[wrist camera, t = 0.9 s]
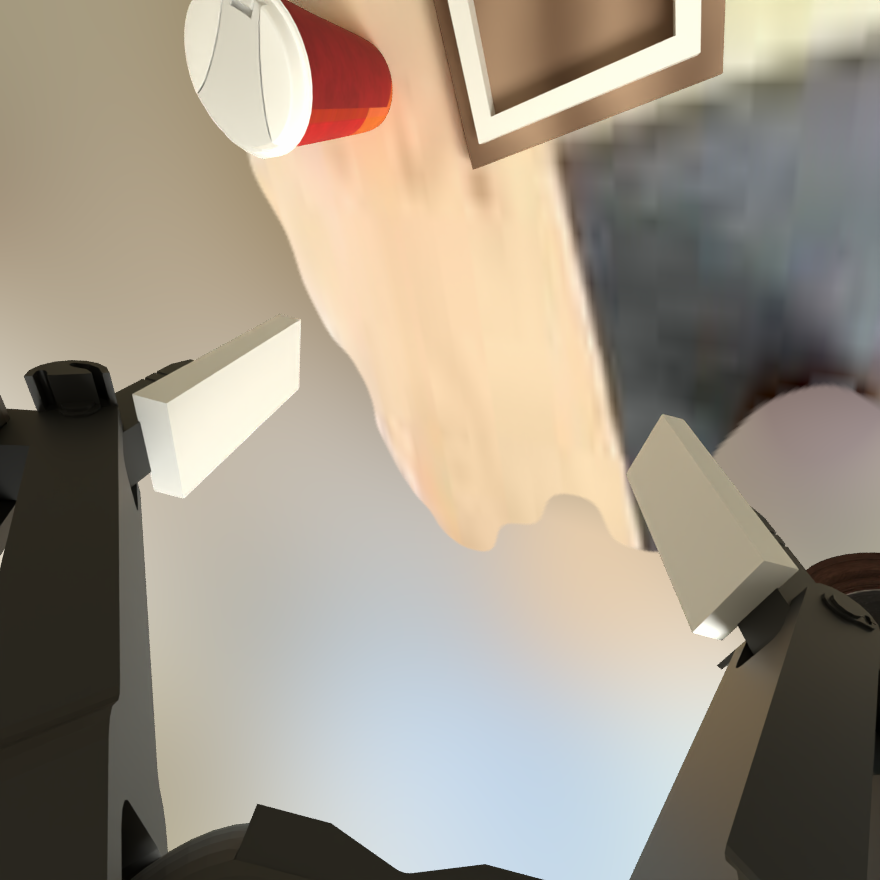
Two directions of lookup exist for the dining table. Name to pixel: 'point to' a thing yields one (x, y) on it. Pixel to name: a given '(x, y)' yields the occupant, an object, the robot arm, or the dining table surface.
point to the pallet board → (569, 63)
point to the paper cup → (282, 74)
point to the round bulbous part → (853, 578)
